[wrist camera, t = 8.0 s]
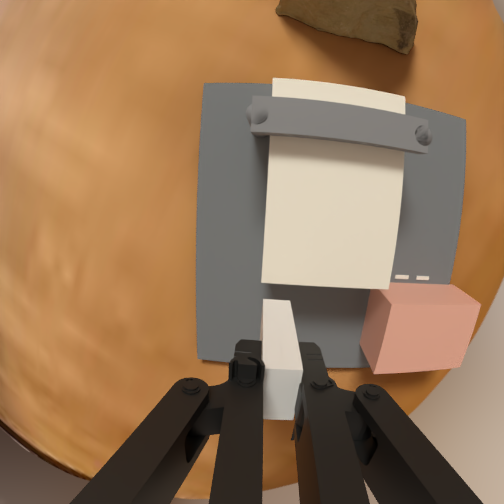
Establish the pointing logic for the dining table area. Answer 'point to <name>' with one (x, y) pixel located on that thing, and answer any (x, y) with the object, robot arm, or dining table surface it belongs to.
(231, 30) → the dining table surface
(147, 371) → the dining table surface
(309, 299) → the mat
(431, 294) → the stub
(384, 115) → the clamped cream block
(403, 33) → the rock
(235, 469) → the robot arm
